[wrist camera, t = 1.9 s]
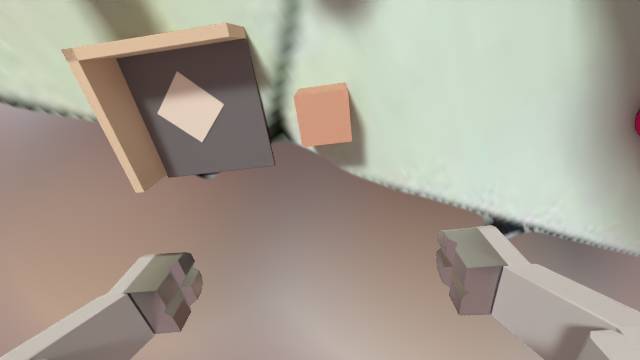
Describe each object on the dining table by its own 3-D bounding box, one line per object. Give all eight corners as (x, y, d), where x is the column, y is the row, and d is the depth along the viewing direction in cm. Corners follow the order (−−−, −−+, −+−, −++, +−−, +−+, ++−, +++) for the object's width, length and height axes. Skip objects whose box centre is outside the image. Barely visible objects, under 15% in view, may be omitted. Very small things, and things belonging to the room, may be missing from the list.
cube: (344, 82, 28) (347, 89, 24) (348, 127, 30) (352, 141, 26) (299, 88, 28) (293, 96, 24) (306, 132, 31) (302, 147, 26)
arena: (243, 26, 26) (225, 22, 21) (275, 164, 33) (266, 182, 28) (105, 49, 27) (61, 49, 23) (163, 177, 34) (138, 196, 29)
